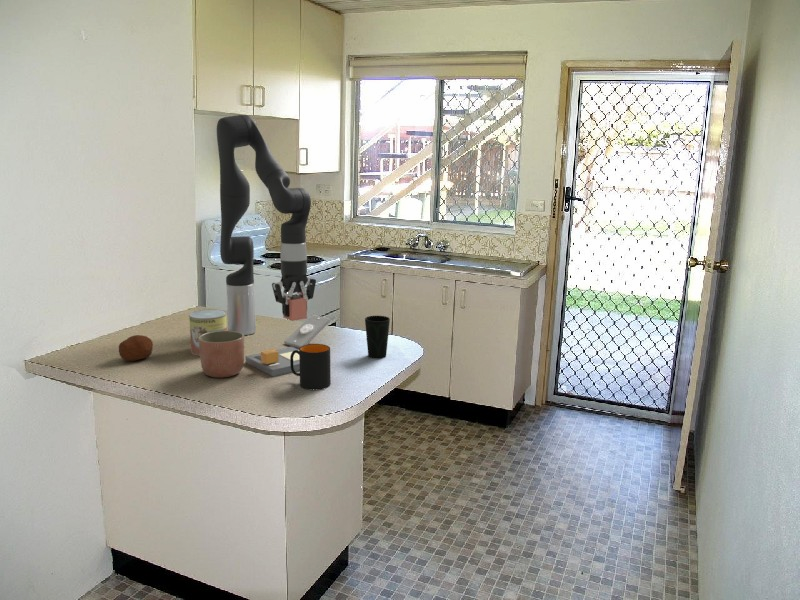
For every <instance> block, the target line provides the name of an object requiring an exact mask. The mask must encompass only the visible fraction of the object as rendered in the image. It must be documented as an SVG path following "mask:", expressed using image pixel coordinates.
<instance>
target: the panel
mask: <svg viewBox="0 0 800 600" xmlns="http://www.w3.org/2000/svg"><path fill="white" fill-rule="evenodd" d="M275 350H276V351H278V359H279V362H274V363H270V364H265V363H263V362H261V352H260V353H255V354H250V355H249V354H248V355H244V358H245V364H247V365H250V366H251V367H254V368H255V369H257V370H259V371H260V372H263V373H265V374H267V375H269V376H271V377H277V376H282V375H286V374H291V373H293V372H292V370H291V365H290V356H291V353H292V352H293V351H294V350H298V351H299V348H296V347H293V346H289V347H284V348H278V349H275ZM293 367H294V370H295V372H298V371H299V372H300V362H299V354H298V353H295V354H294V356H293Z"/></svg>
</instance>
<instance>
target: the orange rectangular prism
mask: <svg viewBox="0 0 800 600" xmlns="http://www.w3.org/2000/svg"><path fill="white" fill-rule="evenodd" d="M276 350H277V349H267V350H263V351H260V353H261V362H263V363H265V364H270V363H274V362H279V359H278V351H276Z"/></svg>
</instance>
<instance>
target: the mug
mask: <svg viewBox="0 0 800 600" xmlns="http://www.w3.org/2000/svg"><path fill="white" fill-rule="evenodd" d="M298 350H299V351H298ZM298 350H294V351H293V352H292V353H291V356H290V365H291V370H292V372H291V373H292V374H293V375H294V376H297V377H299V385H300V388H302V389H304V390H308V389H312V390H311V391H317V390H316V389H320V390H324V388H325V389H327V388H329V387H330V386H331V382H332V381H331V378H332V377H331V372H332V371H331V347H330V346H329V345H327V344H323V343H308V344H307V345H304V346H301V347H300V348H298ZM295 353H298V354H299V362H300V370H299V372H297V371H295V370H294V367H293V356H294V354H295ZM313 389H314V390H313Z"/></svg>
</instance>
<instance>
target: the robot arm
mask: <svg viewBox="0 0 800 600" xmlns="http://www.w3.org/2000/svg"><path fill="white" fill-rule="evenodd" d="M217 121H218V122H217V125H216V141H217V151H218V157H219V158H218V159H219V176H220V177H219V182H220V183H219V194H220V195H219V197H220V199H219V201H220V203H219V204H220V217H221V218H220V219H221V220H220V222H221V223H220V240H219V241H220V244H219V253H220V254H219V255H220V259H221V262H222V263H223V264H225V265H243V266H242V267H241V268H239V269H238V270H236V271H234V272H232V273H229V274H227V275H226V278H225V282H226V284H225V285H226V313H227V314H226V317H227V331H236V332H240V333H242V334H243V335H244V336H249V335H252V334H255V333H256V331H257V330H256V329H257V328H256V327H257V326H256V301H255V300H256V299H255V277H254V276H255V275H254V258H255V257H254V256H255V255H254V254H255V252H254V250H255V249H254V248H255V247H254V242H253V239H252V237H251V236H247V235H246V236H245V235H244V236H232V235H233V232H234V230H235V228H236V226H237V224H238V223H239V222H240V220H241V219H242V218H243V216H244V215H245V214H246V212H247V211H248V209H249V207H250V203H251V193H250V192H251V187H250V183H249V180H248V179H247V177H246V176H245V174H244V173H243V172H242V170H241V169H240V168H239V166H238V164H237V163H236V159H235V149H237V148H242V147H247V146H250V147H251V148H252V149H253V150H254V152H255V160H254V169H255V172H256V174H257V176H258V177H259V179H260V180H261V182H262V183H263V185H264V186H265V187H266V189H267V190H268V193H269V196H270V198H271V201H272V203H273V204H272V205H273V207H274V208H275V209H276V211H278V212H279V213H280V214H285V215H286V214H287V215H288V214H291V217H290V219H289V220H287V221H285V222H283V223H281V226H280V274H281V279H280V280H279V281H278V282H272V283H271V287H272V291H273V295H274V298H275V299H274V300H275V302H276V303H279V304H281V308H282V309H281V310H282V315H284V316H285V317H289V316H290V314H289V300H290V298H291V297H292V295H294V294H295V293H297V295H300V297H303V298H306V299H307V302H308V301H309V300H312V299H313V298H314V294H315V288H316V283H317V279H315V278H312V277H309V278H308V276H307V274H308V254H307V253H308V250H307V243H306V240H307V239H306V234H307V233H306V227H307V223H308V221H309V216H310V211H311V207H312V206H311V205H312V199H311V195H310V193H309V192H308V190H307V189H305V188H302V187H292V188H289V187H290V184H291V179H290V178H291V177H290V176H289V175H288V174H287V172H286V171H285V170H284V168H283V167H282V166H281V164H280V163H279V162H278V161H277V159H276V158H275V156H274V155H273V153H272V151H271V150H270V147H269V145H268V143H267V141H266V140H265V137H264V135H263V134H262V131H261V130H260V129H259V127H258V125H257V123H256V122H255V120H254V119H253V118H252V117H251V116H250V115H248V114H239V115H238V114H237V115H232V116H224V117H222V118H221V117H220V118H219V119H218V120H217ZM282 289H283V290H282Z"/></svg>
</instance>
